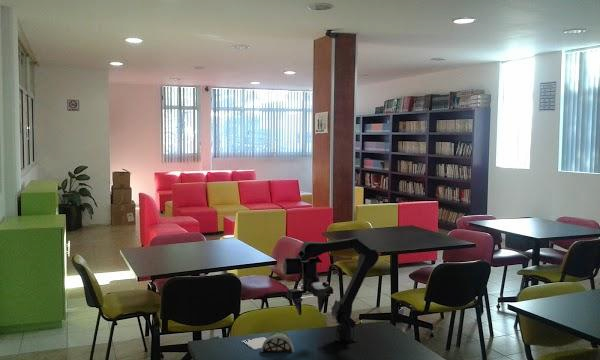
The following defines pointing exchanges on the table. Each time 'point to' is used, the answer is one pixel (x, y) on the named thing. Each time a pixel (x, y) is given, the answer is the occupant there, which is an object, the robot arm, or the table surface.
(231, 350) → the table surface
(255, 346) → the mat
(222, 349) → the table surface
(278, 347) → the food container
